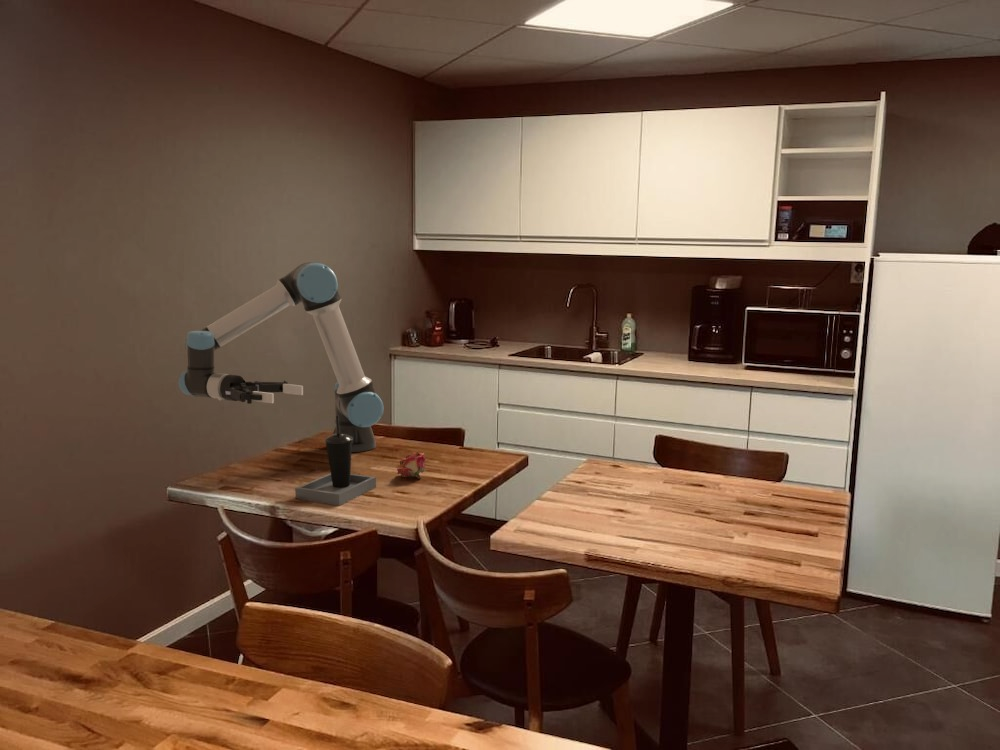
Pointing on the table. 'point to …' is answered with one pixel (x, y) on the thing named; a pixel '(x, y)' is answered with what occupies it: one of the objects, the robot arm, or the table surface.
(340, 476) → the drinking cup
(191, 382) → the robot arm
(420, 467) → the flower
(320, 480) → the tray
